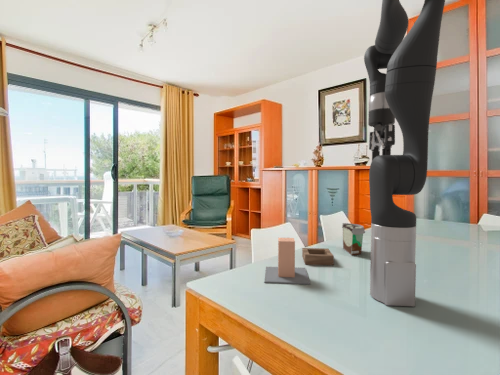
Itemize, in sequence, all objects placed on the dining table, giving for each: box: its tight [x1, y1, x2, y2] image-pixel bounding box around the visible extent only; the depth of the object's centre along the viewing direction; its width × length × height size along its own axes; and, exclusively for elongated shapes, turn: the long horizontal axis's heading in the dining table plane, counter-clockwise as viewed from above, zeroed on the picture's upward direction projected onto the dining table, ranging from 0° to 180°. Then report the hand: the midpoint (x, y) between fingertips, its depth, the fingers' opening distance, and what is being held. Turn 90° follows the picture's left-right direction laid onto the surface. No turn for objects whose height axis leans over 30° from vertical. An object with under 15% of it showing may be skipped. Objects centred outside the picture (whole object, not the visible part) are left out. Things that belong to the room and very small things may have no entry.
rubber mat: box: [264, 266, 311, 285], centre depth 77 cm, size 12×12×1 cm
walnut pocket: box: [301, 247, 335, 266], centre depth 91 cm, size 9×9×3 cm
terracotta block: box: [277, 237, 296, 277], centre depth 77 cm, size 4×4×10 cm
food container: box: [341, 222, 366, 257], centre depth 102 cm, size 12×6×10 cm, turn 179°
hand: (380, 161), depth 85 cm, fingers open, 8 cm apart
